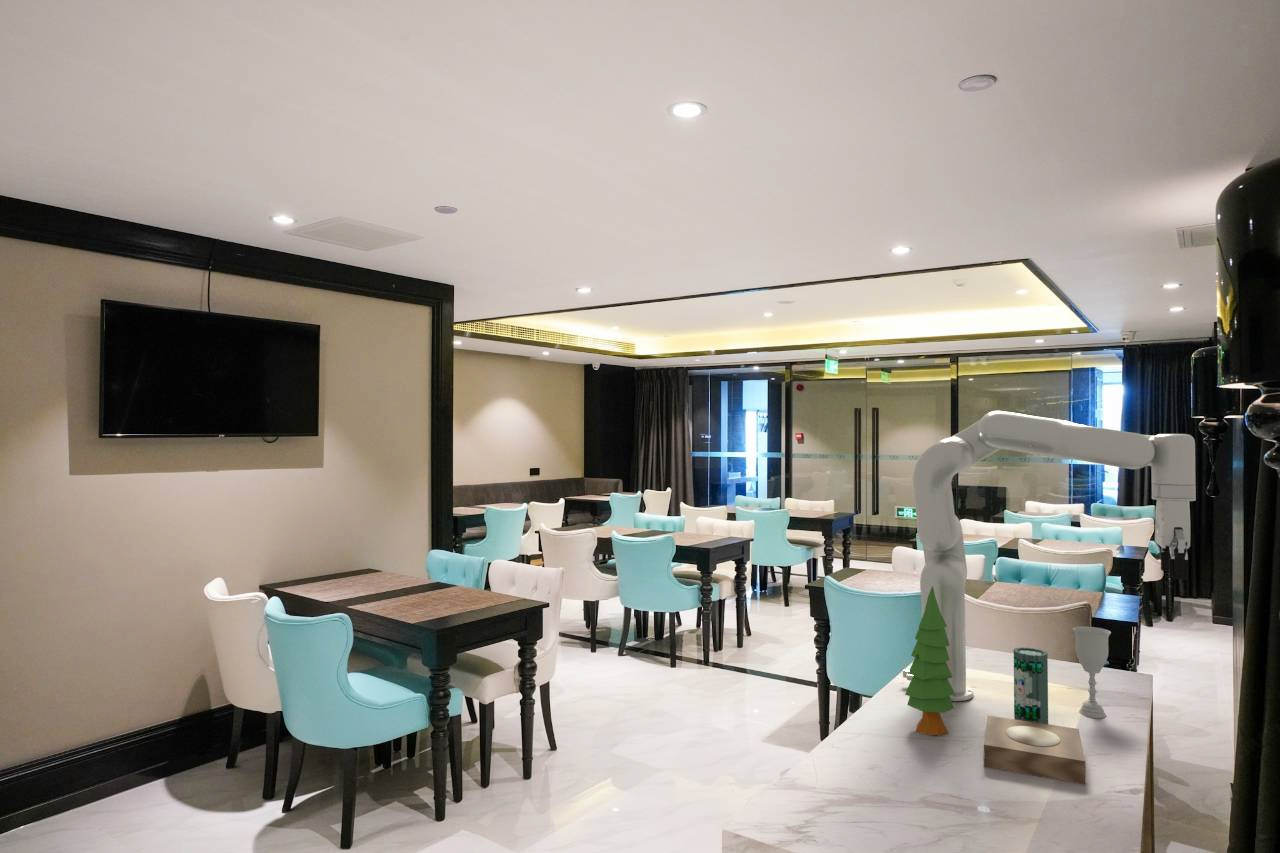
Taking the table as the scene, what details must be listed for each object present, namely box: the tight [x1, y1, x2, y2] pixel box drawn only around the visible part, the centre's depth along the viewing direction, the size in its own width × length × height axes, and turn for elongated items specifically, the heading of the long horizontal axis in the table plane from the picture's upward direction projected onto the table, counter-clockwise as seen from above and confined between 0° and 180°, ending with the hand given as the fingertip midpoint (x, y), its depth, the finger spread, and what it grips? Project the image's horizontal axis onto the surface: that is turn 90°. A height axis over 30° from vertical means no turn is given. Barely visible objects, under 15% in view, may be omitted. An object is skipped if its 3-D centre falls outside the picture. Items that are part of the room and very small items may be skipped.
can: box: [1013, 647, 1049, 724], centre depth 158 cm, size 6×6×15 cm
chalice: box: [1072, 625, 1112, 719], centre depth 164 cm, size 7×7×18 cm
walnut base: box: [983, 714, 1087, 785], centre depth 141 cm, size 16×16×4 cm
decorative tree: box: [904, 585, 955, 737], centre depth 155 cm, size 10×9×30 cm
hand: (1174, 574), depth 157 cm, fingers open, 9 cm apart
